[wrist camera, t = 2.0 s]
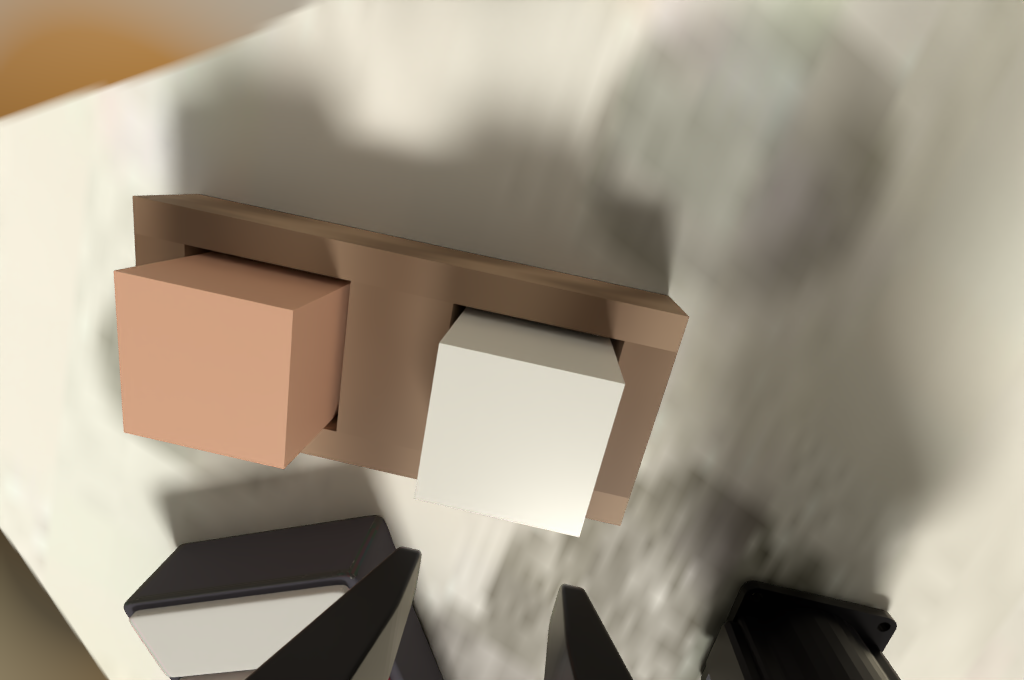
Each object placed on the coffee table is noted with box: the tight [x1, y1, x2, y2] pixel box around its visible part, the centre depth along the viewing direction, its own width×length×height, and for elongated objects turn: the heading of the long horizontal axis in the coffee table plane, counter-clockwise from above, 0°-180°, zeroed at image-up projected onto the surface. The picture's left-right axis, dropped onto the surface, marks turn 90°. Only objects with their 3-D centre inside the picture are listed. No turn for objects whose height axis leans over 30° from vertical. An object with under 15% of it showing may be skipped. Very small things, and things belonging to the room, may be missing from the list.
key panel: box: [133, 194, 689, 526], centre depth 18 cm, size 18×8×3 cm, turn 79°
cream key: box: [414, 307, 625, 537], centre depth 15 cm, size 5×5×4 cm
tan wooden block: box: [114, 251, 351, 469], centre depth 16 cm, size 5×5×4 cm
